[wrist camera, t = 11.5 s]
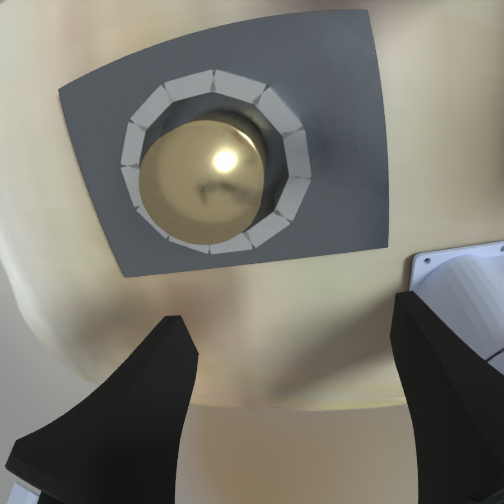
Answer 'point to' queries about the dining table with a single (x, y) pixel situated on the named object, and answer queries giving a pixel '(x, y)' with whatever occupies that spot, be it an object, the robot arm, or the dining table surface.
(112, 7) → the dining table surface
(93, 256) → the dining table surface
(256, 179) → the cylinder
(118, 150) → the socket plate
